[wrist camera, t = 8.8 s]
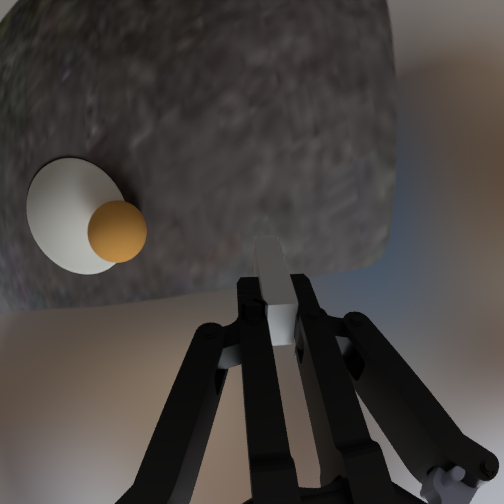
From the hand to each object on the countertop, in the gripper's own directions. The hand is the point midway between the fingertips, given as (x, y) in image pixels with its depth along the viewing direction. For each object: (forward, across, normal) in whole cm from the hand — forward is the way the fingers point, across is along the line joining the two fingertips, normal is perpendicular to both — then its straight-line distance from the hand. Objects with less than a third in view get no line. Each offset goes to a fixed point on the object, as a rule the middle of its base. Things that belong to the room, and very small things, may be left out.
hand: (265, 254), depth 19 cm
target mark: (+9, -18, -1) cm, 21 cm away
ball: (+6, -12, -1) cm, 14 cm away
